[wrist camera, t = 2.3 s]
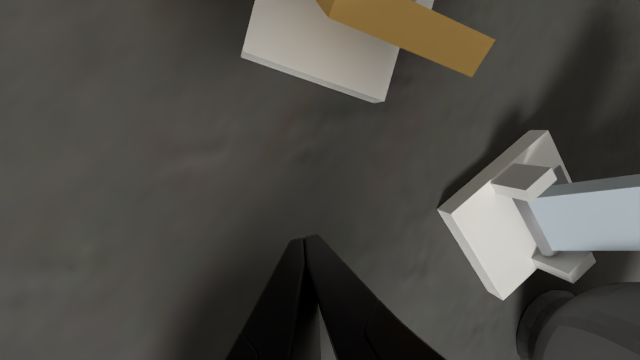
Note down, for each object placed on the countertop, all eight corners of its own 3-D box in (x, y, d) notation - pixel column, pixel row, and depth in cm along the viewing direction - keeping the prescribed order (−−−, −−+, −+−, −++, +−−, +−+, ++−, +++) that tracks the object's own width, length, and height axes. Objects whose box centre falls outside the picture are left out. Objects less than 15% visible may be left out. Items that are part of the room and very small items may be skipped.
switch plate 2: (487, 291, 28) (537, 321, 23) (436, 209, 25) (481, 225, 21) (570, 215, 29) (631, 230, 25) (529, 130, 27) (590, 130, 22)
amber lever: (384, 17, 20) (482, 85, 11) (290, -24, 19) (310, 14, 9) (395, -7, 20) (510, 42, 10) (298, -52, 18) (329, -44, 8)
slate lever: (538, 256, 26) (801, 259, 17) (506, 196, 24) (779, 163, 15) (542, 243, 27) (795, 239, 17) (511, 184, 25) (773, 146, 16)
